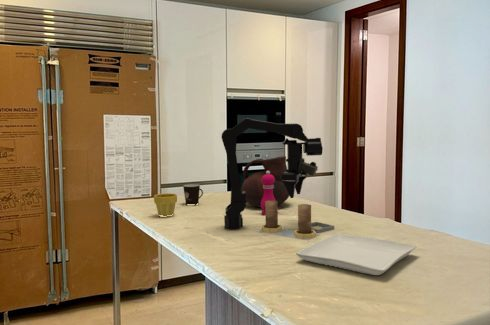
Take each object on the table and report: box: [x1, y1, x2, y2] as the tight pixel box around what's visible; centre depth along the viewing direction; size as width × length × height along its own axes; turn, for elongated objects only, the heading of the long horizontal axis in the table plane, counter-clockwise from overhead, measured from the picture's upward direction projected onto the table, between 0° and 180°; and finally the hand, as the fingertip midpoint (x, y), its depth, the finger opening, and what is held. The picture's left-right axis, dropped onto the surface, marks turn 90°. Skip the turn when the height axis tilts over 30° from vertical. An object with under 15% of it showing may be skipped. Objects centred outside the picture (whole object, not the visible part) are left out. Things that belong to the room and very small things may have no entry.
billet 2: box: [297, 203, 312, 234], centre depth 153 cm, size 5×5×11 cm
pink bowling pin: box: [260, 171, 276, 216], centre depth 196 cm, size 7×7×20 cm
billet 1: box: [264, 200, 279, 228], centre depth 162 cm, size 5×5×11 cm
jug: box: [241, 155, 290, 208], centre depth 216 cm, size 25×25×25 cm
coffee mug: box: [182, 183, 204, 205], centre depth 223 cm, size 12×9×10 cm
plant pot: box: [153, 192, 178, 216], centre depth 197 cm, size 10×10×10 cm
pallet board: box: [256, 224, 320, 243], centre depth 158 cm, size 22×9×3 cm, turn 51°
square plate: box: [295, 233, 417, 276], centre depth 131 cm, size 27×27×4 cm
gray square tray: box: [311, 221, 335, 234], centre depth 163 cm, size 9×9×2 cm
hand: (295, 196), depth 168 cm, fingers open, 9 cm apart
